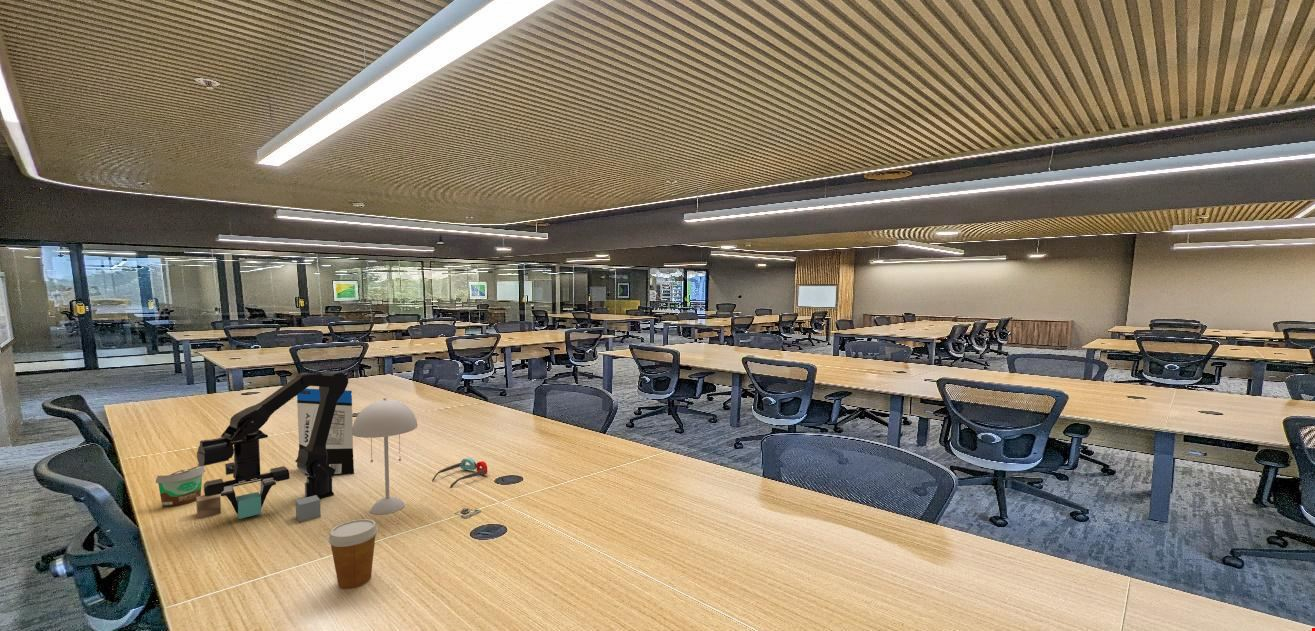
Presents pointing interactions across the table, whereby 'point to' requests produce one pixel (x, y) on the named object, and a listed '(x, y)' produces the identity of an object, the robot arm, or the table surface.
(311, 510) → the slate block
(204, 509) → the walnut block
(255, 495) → the teal block
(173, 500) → the food container
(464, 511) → the small grey metal mechanism
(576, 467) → the table surface
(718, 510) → the table surface
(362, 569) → the disposable coffee cup
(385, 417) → the lamp
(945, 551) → the table surface
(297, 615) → the table surface
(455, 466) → the novelty glasses
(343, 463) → the protein powder
